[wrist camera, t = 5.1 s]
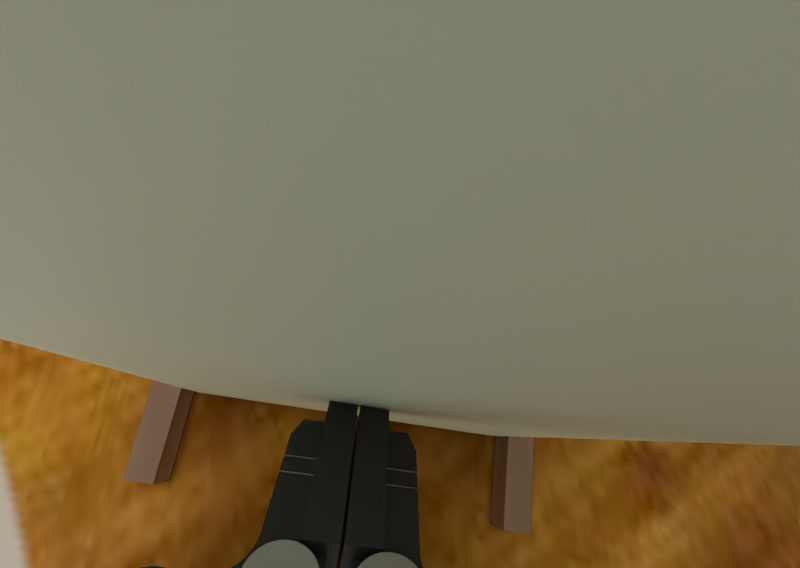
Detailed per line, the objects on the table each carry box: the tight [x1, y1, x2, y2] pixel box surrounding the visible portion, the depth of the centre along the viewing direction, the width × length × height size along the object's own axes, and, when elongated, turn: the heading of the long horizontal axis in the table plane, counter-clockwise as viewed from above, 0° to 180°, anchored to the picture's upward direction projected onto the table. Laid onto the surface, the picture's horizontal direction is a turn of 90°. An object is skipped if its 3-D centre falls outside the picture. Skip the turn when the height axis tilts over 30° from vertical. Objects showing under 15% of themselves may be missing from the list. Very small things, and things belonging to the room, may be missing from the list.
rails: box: [122, 381, 534, 534], centre depth 19 cm, size 14×21×2 cm
